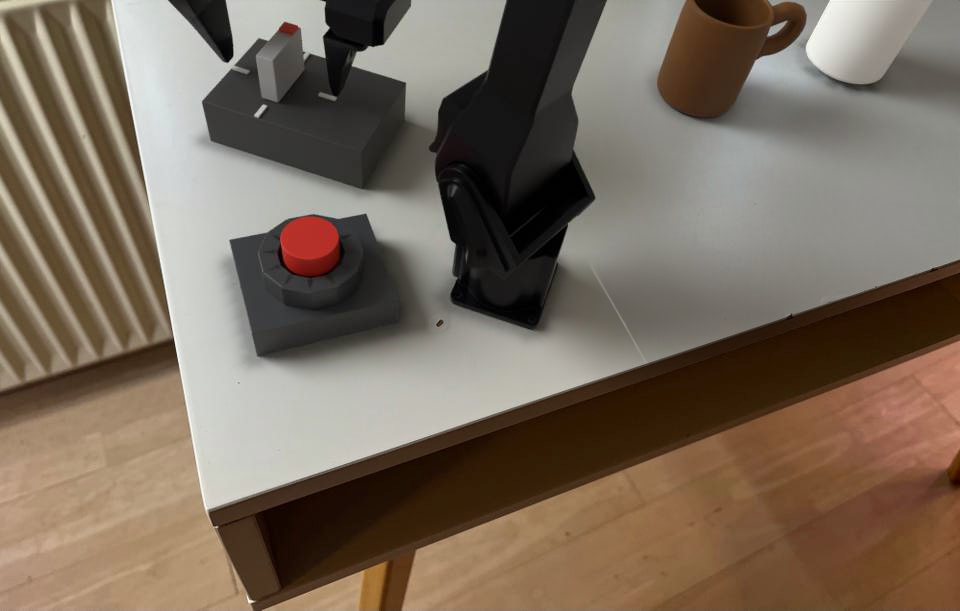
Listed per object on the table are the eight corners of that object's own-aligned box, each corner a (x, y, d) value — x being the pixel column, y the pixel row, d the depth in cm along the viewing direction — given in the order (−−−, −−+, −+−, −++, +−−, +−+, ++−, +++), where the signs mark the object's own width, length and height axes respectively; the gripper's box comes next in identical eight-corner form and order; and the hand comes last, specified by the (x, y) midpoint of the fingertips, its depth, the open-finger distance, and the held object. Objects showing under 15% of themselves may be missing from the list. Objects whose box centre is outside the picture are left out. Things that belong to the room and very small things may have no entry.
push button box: (366, 238, 55) (366, 195, 51) (398, 323, 51) (400, 283, 47) (234, 264, 52) (224, 221, 48) (257, 357, 48) (247, 317, 44)
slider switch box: (404, 121, 63) (406, 80, 60) (362, 190, 58) (361, 149, 54) (264, 77, 64) (258, 35, 61) (210, 141, 59) (200, 99, 56)
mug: (752, 64, 74) (795, -25, 66) (788, 114, 70) (838, 25, 62) (642, 71, 71) (674, -21, 64) (672, 123, 67) (710, 31, 59)
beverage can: (886, 96, 73) (964, -17, 64) (806, 79, 73) (871, -37, 64) (875, 49, 78) (945, -63, 69) (799, 33, 78) (859, -81, 69)
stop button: (332, 229, 50) (330, 211, 48) (346, 270, 48) (345, 252, 46) (277, 240, 48) (274, 222, 47) (289, 282, 47) (287, 264, 45)
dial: (278, 103, 57) (272, 57, 53) (261, 98, 57) (254, 52, 53) (305, 69, 59) (301, 24, 56) (288, 64, 59) (283, 19, 56)
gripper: (446, -151, 49) (431, 53, 61) (188, -220, 51) (225, -8, 63) (381, -76, 42) (379, 135, 55) (87, -159, 44) (151, 64, 57)
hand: (282, 76), depth 57 cm, fingers open, 9 cm apart
